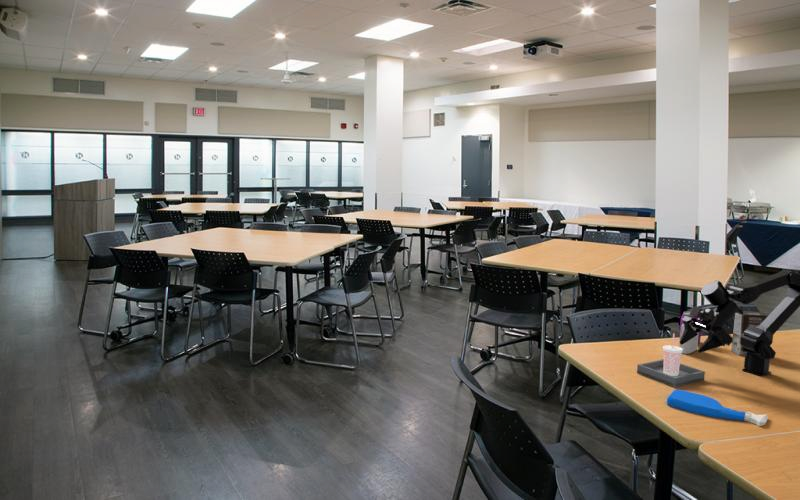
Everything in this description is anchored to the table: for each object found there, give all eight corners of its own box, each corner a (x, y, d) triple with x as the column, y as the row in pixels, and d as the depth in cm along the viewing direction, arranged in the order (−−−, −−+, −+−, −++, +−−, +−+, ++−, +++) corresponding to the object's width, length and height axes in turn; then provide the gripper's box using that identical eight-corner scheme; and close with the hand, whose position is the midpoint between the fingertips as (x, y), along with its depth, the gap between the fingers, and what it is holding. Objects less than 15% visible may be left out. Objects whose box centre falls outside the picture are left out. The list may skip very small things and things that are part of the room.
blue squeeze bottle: (665, 397, 163) (764, 423, 147) (675, 387, 171) (769, 410, 156) (664, 407, 163) (763, 433, 148) (674, 396, 171) (768, 420, 156)
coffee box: (738, 355, 210) (742, 314, 208) (730, 350, 217) (734, 310, 214) (764, 356, 209) (768, 315, 207) (755, 351, 216) (759, 311, 214)
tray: (704, 380, 184) (704, 371, 184) (674, 387, 178) (675, 378, 177) (665, 366, 197) (666, 358, 197) (637, 372, 190) (637, 364, 190)
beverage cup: (659, 374, 187) (662, 333, 185) (662, 369, 192) (665, 329, 190) (679, 378, 183) (682, 337, 181) (682, 373, 188) (685, 332, 186)
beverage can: (685, 338, 233) (688, 310, 232) (703, 342, 227) (706, 314, 225) (675, 340, 229) (677, 312, 227) (693, 345, 223) (695, 316, 221)
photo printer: (687, 347, 221) (689, 316, 219) (698, 349, 217) (701, 319, 216) (677, 352, 213) (679, 321, 212) (689, 355, 210) (691, 323, 209)
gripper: (688, 292, 195) (657, 324, 195) (727, 305, 177) (693, 340, 176) (707, 313, 197) (676, 345, 197) (747, 328, 179) (714, 362, 179)
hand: (689, 347), depth 187 cm, fingers open, 9 cm apart
